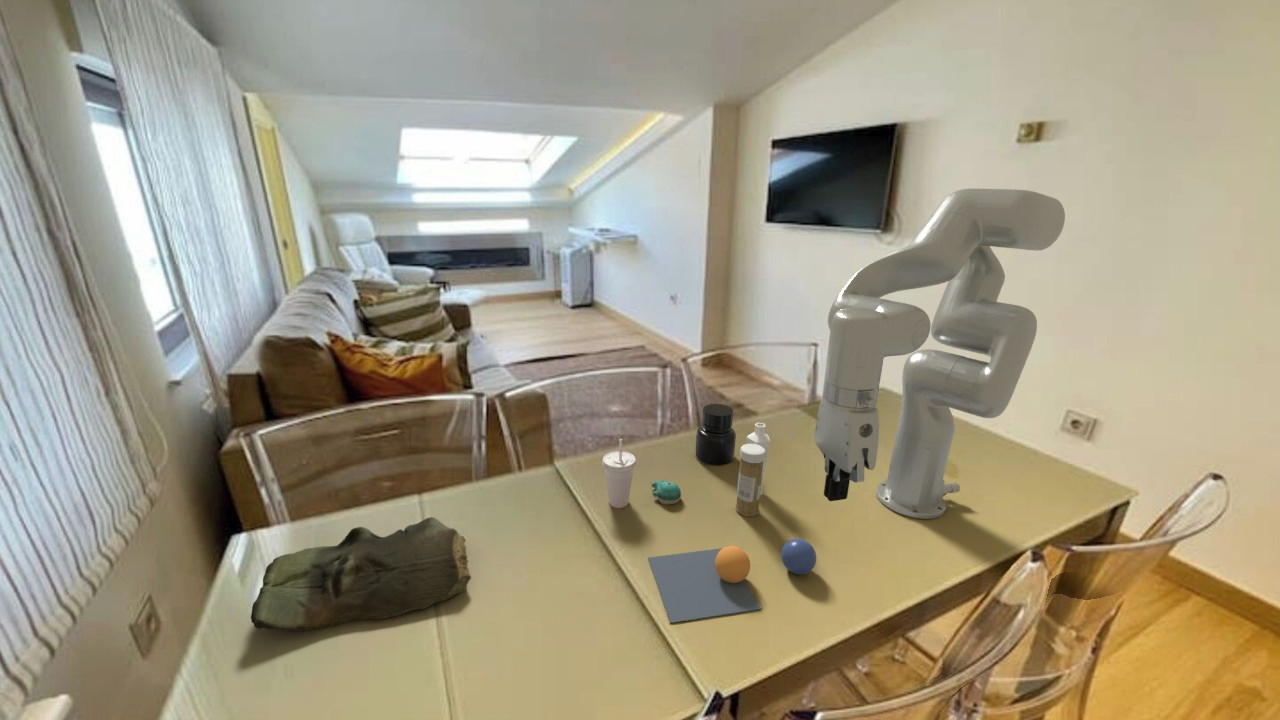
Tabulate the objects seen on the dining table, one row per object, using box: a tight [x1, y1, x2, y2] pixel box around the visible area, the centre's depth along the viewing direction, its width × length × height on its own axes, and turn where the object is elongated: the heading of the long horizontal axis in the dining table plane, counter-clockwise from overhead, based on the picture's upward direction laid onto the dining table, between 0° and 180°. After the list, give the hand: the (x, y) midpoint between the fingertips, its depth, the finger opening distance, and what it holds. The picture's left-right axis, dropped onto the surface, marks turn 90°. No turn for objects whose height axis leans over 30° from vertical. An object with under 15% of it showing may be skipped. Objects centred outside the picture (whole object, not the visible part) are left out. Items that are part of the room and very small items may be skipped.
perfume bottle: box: [746, 422, 771, 496], centre depth 106 cm, size 5×4×15 cm
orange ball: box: [715, 545, 751, 583], centre depth 83 cm, size 6×6×6 cm
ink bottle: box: [695, 403, 737, 466], centre depth 120 cm, size 10×9×12 cm
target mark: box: [647, 547, 762, 624], centre depth 83 cm, size 14×14×1 cm
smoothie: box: [602, 438, 637, 509], centre depth 101 cm, size 6×6×14 cm
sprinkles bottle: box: [735, 443, 765, 517], centre depth 100 cm, size 5×5×14 cm
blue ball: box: [780, 537, 817, 576], centre depth 85 cm, size 6×6×6 cm
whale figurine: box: [651, 479, 682, 505], centre depth 105 cm, size 6×7×4 cm
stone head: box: [250, 516, 472, 632], centre depth 82 cm, size 19×8×28 cm
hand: (835, 497), depth 84 cm, fingers closed
